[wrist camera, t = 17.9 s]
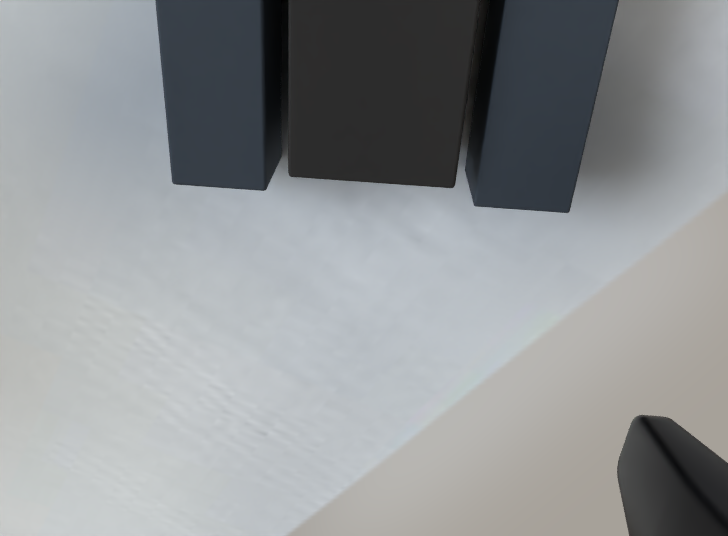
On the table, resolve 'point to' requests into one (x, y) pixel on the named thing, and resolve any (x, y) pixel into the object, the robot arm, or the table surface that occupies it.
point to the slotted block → (490, 116)
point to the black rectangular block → (379, 89)
